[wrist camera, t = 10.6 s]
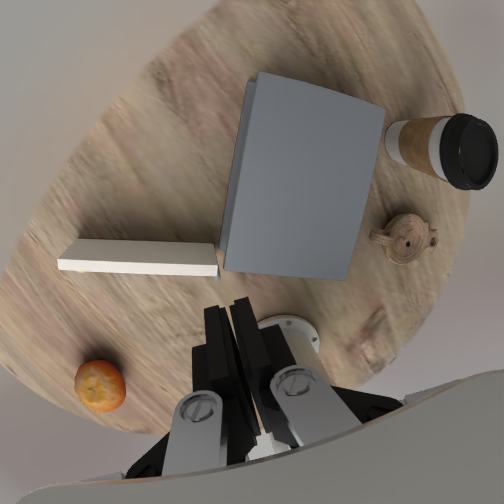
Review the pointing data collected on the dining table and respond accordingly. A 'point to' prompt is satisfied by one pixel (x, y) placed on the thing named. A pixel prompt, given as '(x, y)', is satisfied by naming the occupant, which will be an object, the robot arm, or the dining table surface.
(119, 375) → the fruit
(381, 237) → the oil lamp
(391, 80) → the dining table surface
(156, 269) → the door
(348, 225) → the cabinet
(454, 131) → the coffee cup
